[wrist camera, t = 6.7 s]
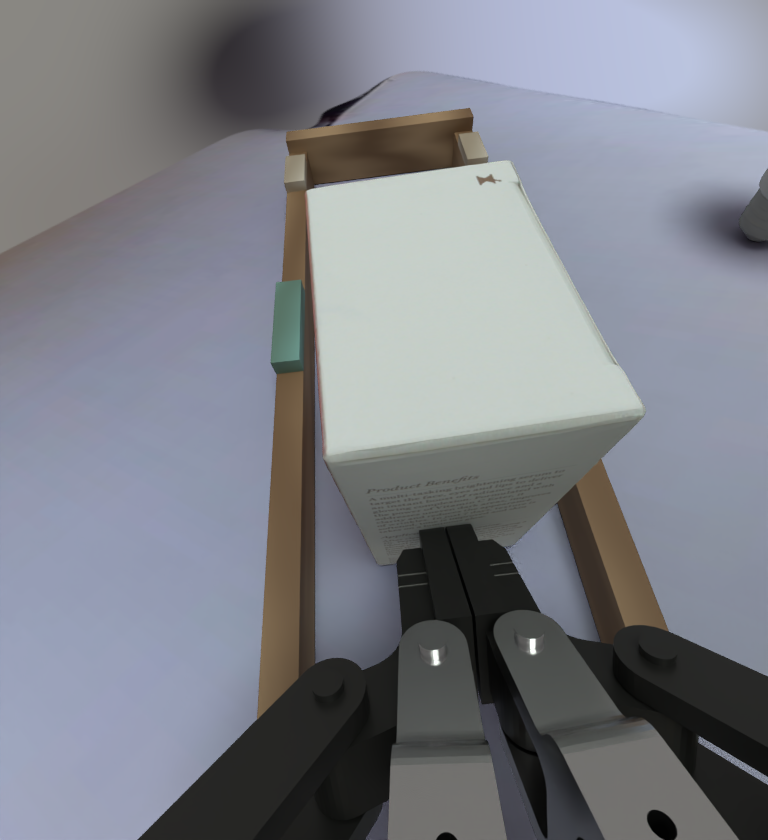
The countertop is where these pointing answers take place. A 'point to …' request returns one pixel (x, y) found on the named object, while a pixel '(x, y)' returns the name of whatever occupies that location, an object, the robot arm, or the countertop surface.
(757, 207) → the lightbulb
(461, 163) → the u-shaped wooden frame
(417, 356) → the small box
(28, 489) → the countertop surface
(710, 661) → the robot arm
